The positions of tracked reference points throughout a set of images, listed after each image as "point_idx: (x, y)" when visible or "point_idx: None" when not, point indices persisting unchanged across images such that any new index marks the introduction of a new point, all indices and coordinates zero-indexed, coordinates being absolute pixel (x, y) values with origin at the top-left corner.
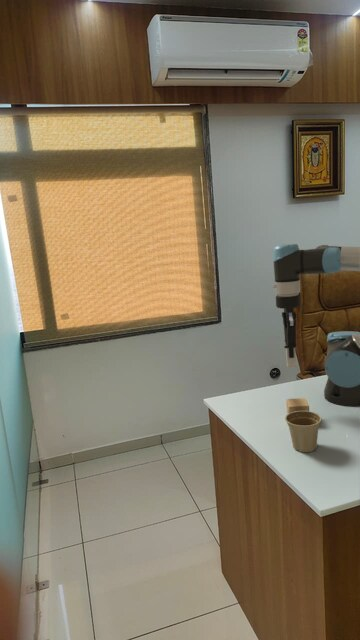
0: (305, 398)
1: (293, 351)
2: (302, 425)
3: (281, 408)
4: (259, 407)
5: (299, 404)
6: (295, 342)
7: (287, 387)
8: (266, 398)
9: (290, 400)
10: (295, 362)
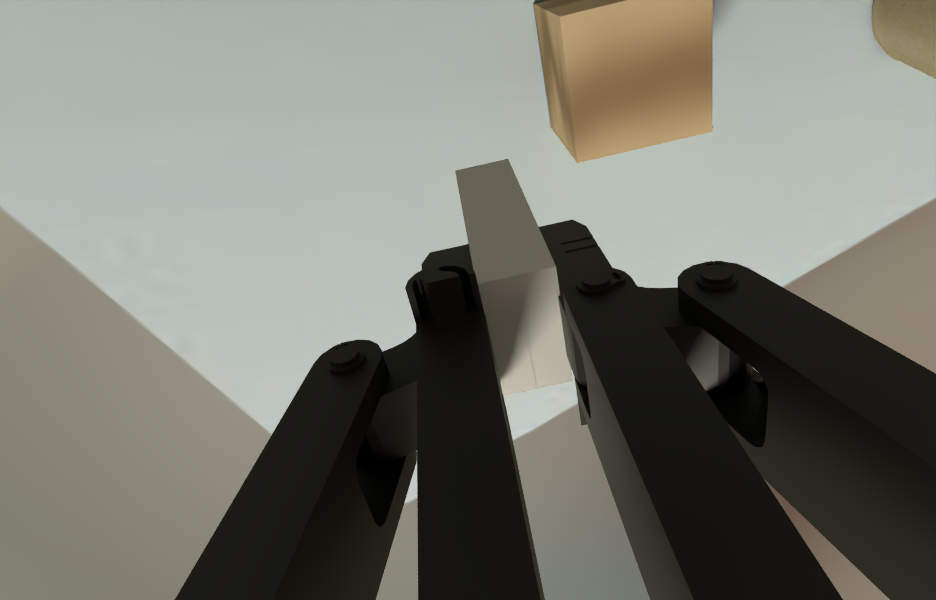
0: (569, 17)
1: (607, 262)
2: (928, 16)
3: (435, 174)
4: None
5: (681, 58)
6: (816, 311)
7: (62, 176)
8: (298, 277)
9: (602, 131)
10: (517, 180)
